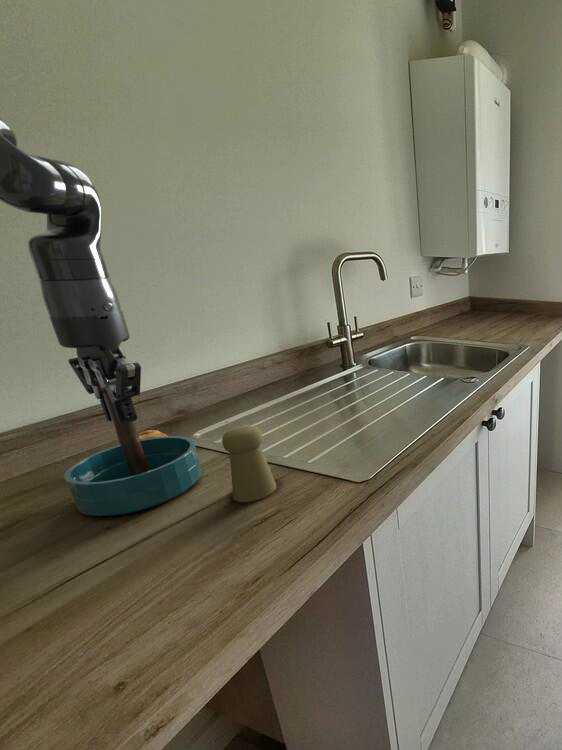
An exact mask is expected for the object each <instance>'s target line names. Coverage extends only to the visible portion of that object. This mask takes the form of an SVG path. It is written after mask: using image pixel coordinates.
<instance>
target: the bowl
mask: <svg viewBox="0 0 562 750" xmlns="http://www.w3.org/2000/svg"><path fill="white" fill-rule="evenodd" d="M167 436H168V437H156V438H150V439H144V440H140V442H141V445H142V448H143V451H144V454H145V457H146V460H147V463H148V466H149V469H148V470H147V471H145V472H142V473H139V474H130V472H129V469H128V466H127V463H126V461H125V458H124V455H123V452H122V449H121V446H120V444H119V445H115V446H112V447H110V448H107V449H104V450H101V451H99V452H96V453H94V454H92V455H89V456H87V457H84V458H82V459H81V460H80V461H78V462H76V463H75V464H73V465H71V467H70V468H68V469H67V470H66V471H65V474H64V476H63V478H64V480H65V483H66V485H67V488H68V490H69V493H70V496H71V498H72V501H73V503H74V505H75V508H76V509H77V510H78V513H81V514H84V515H85V516H87V515H88V516H97V517H102V516H103V517H104V516H105V517H107V516H108V517H110V516H121V515H127V514H131V513H136V512H139V511H140V512H141V511H145V510H146V509H151V508H153V507H156V506H159V505H161V504H163V503H165V502H168V501H170V500H172V499H174V498H176V497H178V496H180V495H181V494H182V493H184V492H185V491H187V490H188V489H189V488H191V487H192V486H193V485H194V484H195V483H197V481H198V480H199V479H200V478H201V476H202V474H203V470H202V465H201V462H200V458H199V455H198V451H197V448H196V443H195V441H194V440H192V439H191V438H189V437H186V436H174V435H172V436H170V435H167Z"/></svg>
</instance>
